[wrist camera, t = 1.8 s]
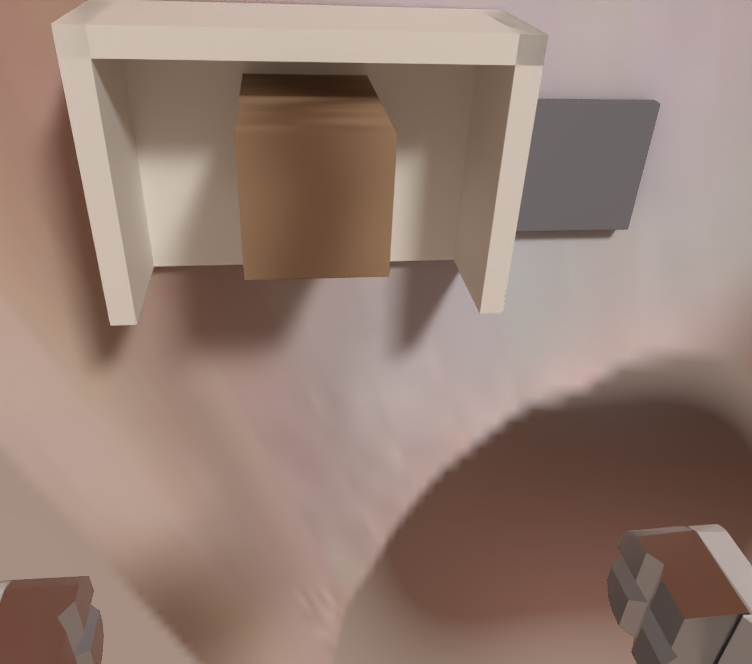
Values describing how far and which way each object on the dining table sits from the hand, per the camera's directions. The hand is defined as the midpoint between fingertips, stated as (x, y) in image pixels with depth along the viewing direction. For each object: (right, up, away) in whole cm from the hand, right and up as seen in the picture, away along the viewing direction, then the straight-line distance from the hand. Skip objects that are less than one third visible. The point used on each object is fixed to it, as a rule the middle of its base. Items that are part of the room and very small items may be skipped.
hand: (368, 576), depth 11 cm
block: (-3, +12, +19) cm, 22 cm away
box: (-3, +12, +19) cm, 23 cm away
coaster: (+9, +12, +21) cm, 26 cm away
